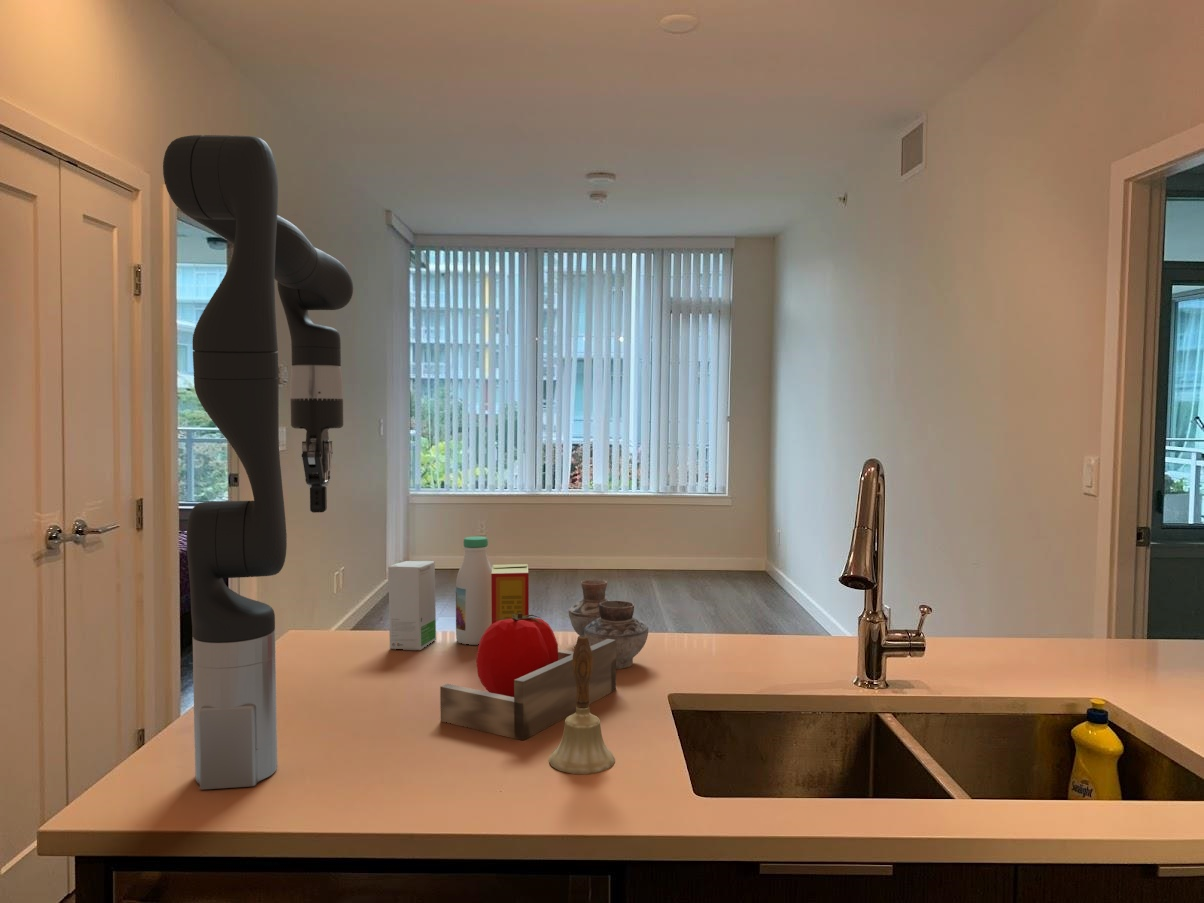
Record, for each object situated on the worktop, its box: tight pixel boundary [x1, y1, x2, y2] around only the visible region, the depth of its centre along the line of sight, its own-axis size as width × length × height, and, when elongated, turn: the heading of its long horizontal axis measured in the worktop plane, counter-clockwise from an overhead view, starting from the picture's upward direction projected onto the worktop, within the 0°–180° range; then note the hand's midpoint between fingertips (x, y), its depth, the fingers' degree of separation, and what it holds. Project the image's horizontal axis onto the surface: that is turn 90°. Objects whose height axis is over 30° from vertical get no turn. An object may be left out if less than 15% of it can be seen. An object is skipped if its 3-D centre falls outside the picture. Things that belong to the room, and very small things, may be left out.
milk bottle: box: [455, 536, 493, 646], centre depth 168 cm, size 8×8×20 cm
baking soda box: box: [491, 563, 530, 624], centre depth 159 cm, size 10×6×16 cm
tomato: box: [476, 613, 559, 697], centre depth 133 cm, size 13×13×13 cm
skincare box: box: [387, 560, 437, 651], centre depth 165 cm, size 8×7×16 cm
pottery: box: [567, 578, 649, 670], centre depth 159 cm, size 11×25×12 cm, turn 17°
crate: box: [439, 639, 617, 741], centre depth 131 cm, size 14×25×8 cm, turn 149°
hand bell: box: [548, 635, 616, 775], centre depth 110 cm, size 8×8×16 cm
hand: (318, 511), depth 132 cm, fingers closed
